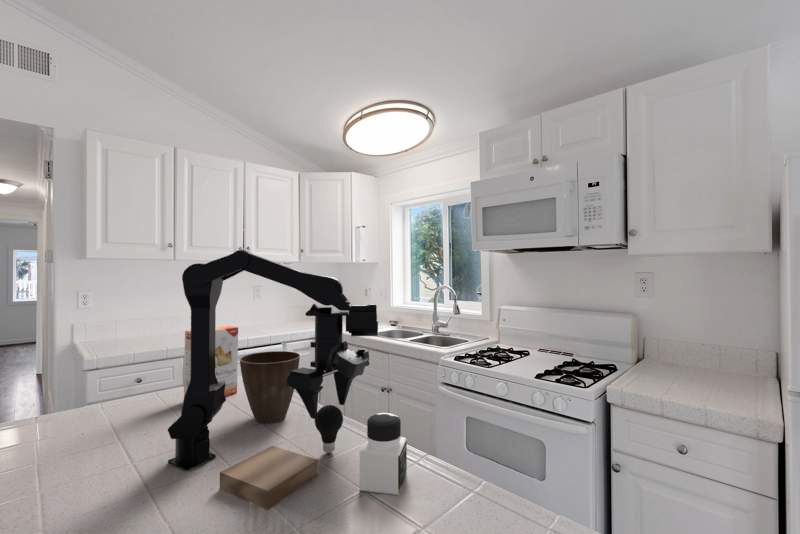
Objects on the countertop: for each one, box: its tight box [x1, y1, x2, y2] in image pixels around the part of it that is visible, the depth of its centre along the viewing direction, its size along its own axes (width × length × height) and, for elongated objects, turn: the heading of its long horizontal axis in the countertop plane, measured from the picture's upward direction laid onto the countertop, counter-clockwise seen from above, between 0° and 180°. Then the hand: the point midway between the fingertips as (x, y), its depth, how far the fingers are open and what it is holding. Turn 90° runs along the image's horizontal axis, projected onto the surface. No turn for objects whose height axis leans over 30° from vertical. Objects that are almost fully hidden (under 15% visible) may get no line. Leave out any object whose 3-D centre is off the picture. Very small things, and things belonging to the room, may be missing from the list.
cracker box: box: [183, 325, 239, 397], centre depth 119 cm, size 14×6×21 cm, turn 147°
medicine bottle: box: [359, 412, 408, 496], centre depth 72 cm, size 7×7×12 cm
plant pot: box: [239, 350, 301, 424], centre depth 103 cm, size 15×15×16 cm
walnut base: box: [219, 445, 319, 510], centre depth 72 cm, size 12×12×3 cm
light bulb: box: [314, 404, 344, 455], centre depth 83 cm, size 6×6×10 cm
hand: (328, 411), depth 83 cm, fingers open, 9 cm apart
